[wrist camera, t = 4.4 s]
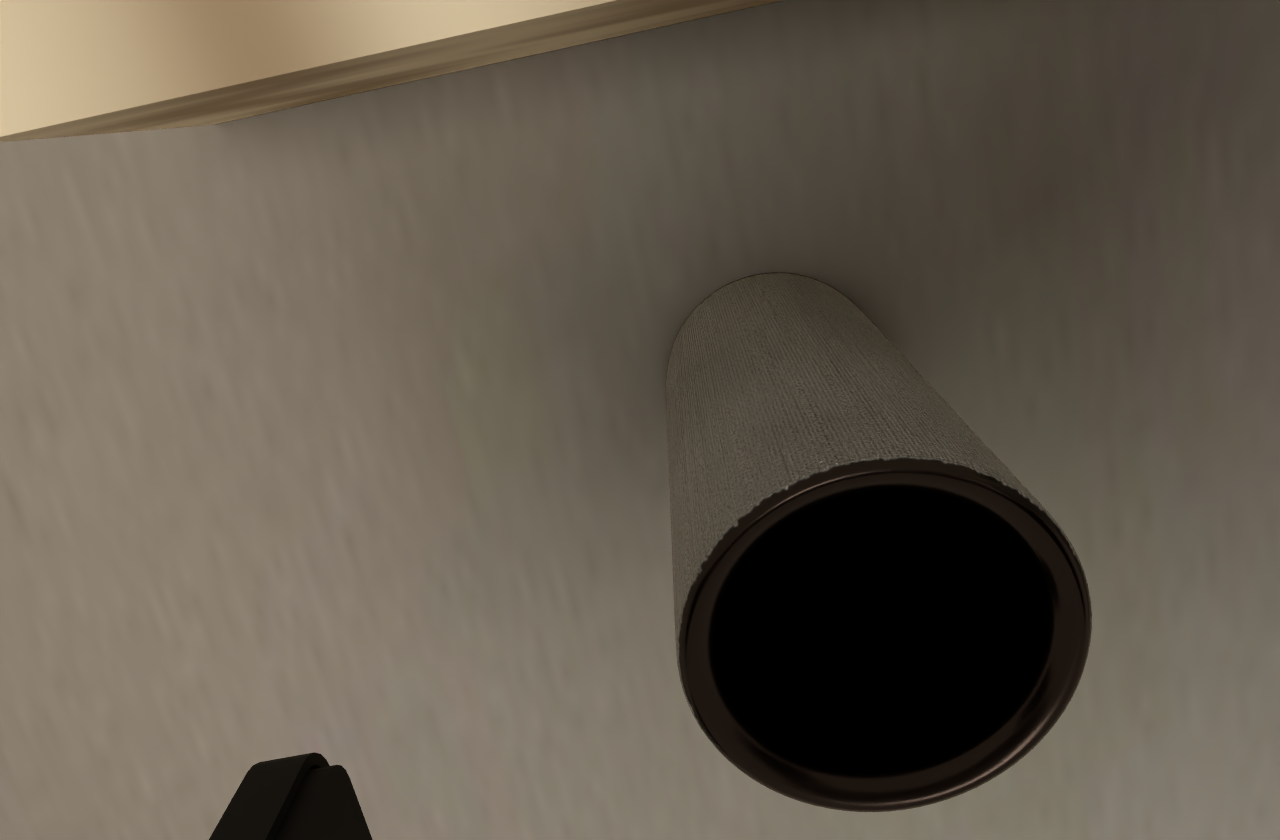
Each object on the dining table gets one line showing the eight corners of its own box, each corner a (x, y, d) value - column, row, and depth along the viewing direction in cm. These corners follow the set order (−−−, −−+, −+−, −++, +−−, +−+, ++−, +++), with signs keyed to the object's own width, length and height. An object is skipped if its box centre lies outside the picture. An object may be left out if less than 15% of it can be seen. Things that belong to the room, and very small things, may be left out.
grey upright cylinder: (866, 478, 21) (1056, 825, 11) (661, 471, 21) (667, 811, 11) (891, 274, 19) (1137, 466, 9) (670, 266, 19) (686, 450, 9)
